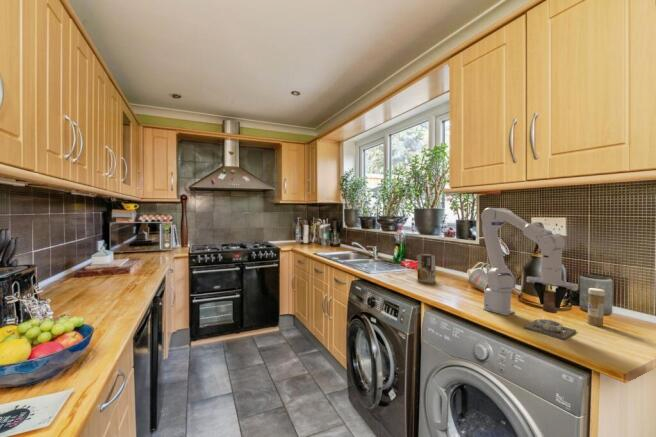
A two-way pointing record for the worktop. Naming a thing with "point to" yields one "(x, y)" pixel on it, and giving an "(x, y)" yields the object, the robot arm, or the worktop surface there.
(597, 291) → the sprinkles bottle
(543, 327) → the cup bracket
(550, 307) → the walnut peg
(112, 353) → the worktop surface
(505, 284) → the robot arm
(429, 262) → the coffee box
